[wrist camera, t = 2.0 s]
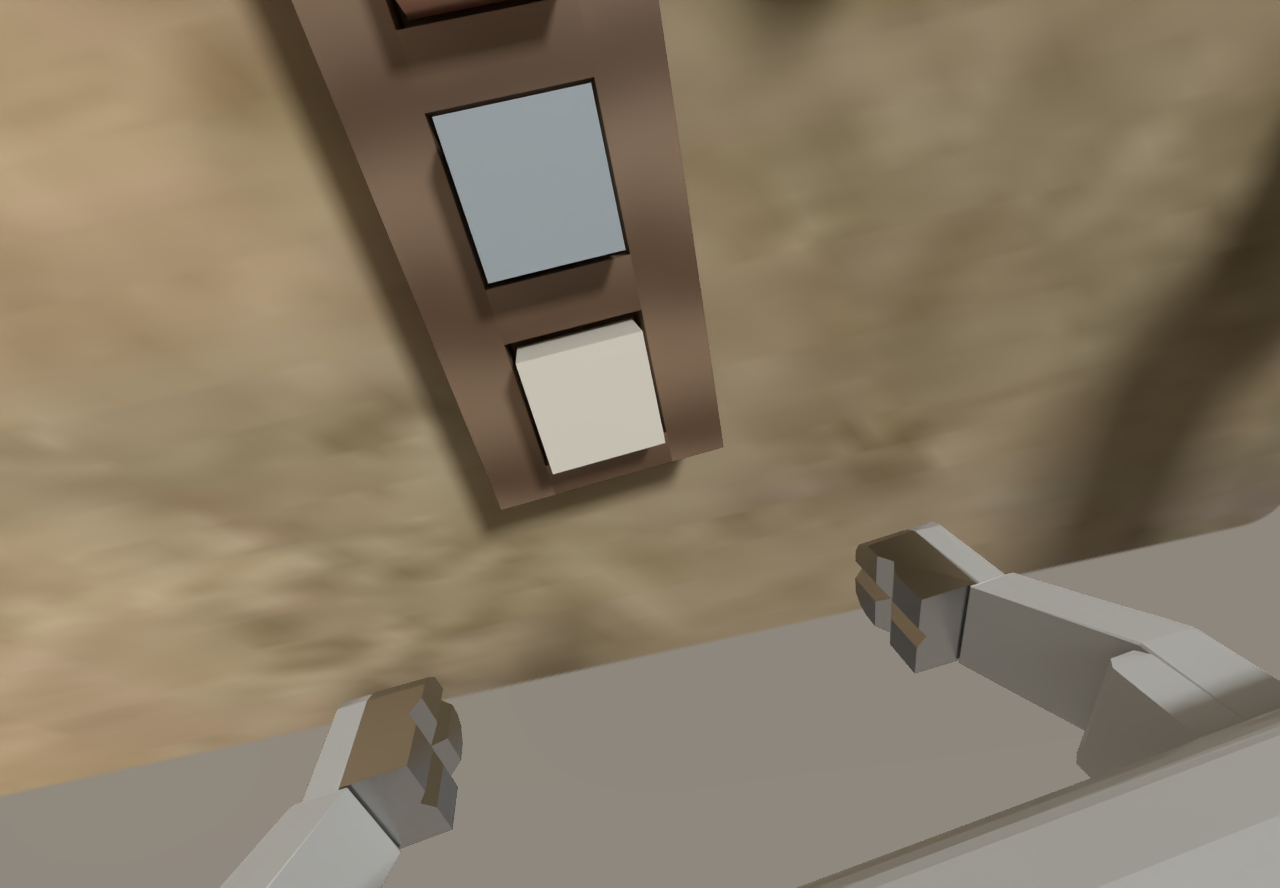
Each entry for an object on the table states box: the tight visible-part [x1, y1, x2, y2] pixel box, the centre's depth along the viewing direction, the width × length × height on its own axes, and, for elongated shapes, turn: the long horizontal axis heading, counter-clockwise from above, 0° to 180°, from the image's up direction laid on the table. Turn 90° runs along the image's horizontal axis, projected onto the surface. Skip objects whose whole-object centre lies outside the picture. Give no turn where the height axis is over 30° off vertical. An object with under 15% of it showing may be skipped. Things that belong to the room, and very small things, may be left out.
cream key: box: [516, 318, 665, 474], centre depth 21 cm, size 5×5×2 cm
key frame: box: [291, 0, 723, 510], centre depth 18 cm, size 33×11×4 cm, turn 12°
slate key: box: [432, 83, 626, 283], centre depth 18 cm, size 5×5×2 cm
